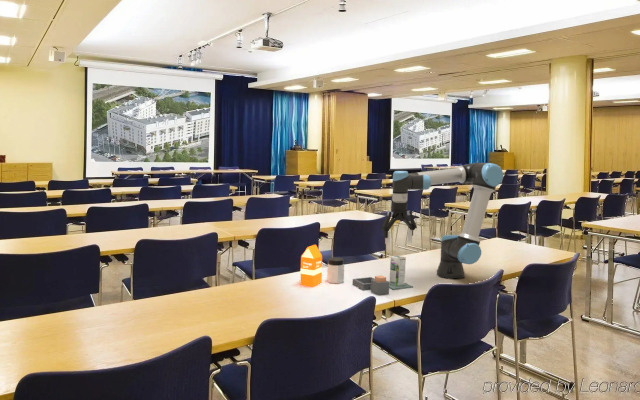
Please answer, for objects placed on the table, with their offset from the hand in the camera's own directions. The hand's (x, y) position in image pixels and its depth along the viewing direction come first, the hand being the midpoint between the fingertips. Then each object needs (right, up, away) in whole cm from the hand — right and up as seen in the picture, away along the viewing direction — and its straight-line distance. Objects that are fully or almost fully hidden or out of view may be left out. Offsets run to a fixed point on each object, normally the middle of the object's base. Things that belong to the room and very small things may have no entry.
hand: (398, 243), depth 246 cm
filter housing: (-14, -22, -5) cm, 27 cm away
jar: (-32, -21, +7) cm, 39 cm away
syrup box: (0, -21, +2) cm, 22 cm away
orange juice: (-45, -21, +1) cm, 49 cm away
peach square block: (-11, -19, -12) cm, 25 cm away
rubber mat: (-1, -22, +2) cm, 22 cm away
